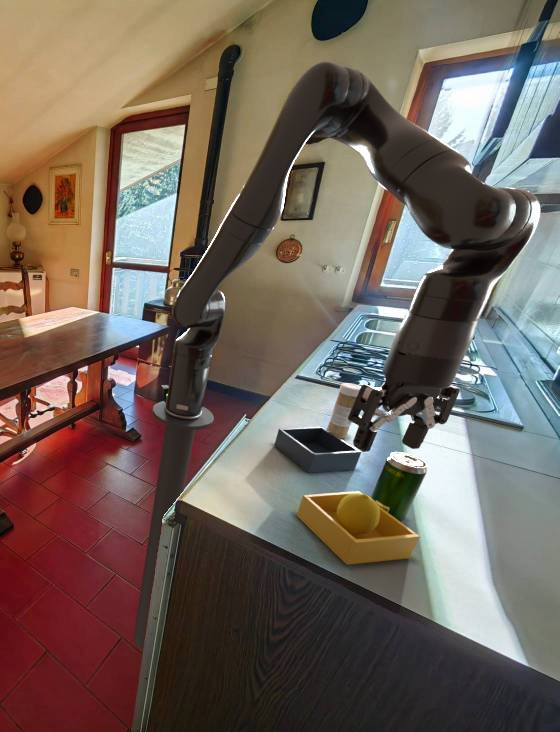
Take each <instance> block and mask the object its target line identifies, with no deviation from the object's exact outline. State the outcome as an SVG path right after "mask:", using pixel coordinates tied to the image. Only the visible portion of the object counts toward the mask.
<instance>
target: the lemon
mask: <svg viewBox="0 0 560 732" xmlns="http://www.w3.org/2000/svg"><path fill="white" fill-rule="evenodd" d="M361 493H362V492H361ZM361 493H353V494H349V495H347V496H345V497H344V498H343V499H342V500H341V502H340V503H339V505H338V507H337V519H338V522H339V523H340V525H341V526H342V527H343V528H344V529H345V530H347V531H348V532H349V533H354V534H367V533H369V532H371V531H373V530H374V529H375V527H376V526H377V525H378V522H379V518H380V509H379V507H378V505H377V503H376V502H375V501H374V500H373V499H372V498H371V496H369V495H368V494H366V493H362V494H361Z"/></svg>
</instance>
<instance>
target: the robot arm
mask: <svg viewBox="0 0 560 732" xmlns="http://www.w3.org/2000/svg"><path fill="white" fill-rule="evenodd" d="M311 136H312V137H318V138H328V139H332V140H335V141H337V142H339V143H341V144H343V145H346V146H348V147H349V148H352V150H354V151H355V152H356V153H358V154H359V155H360V156H361V158H362V159H363V161H364V163H365V165H366V168H367V170H368V172H369V173H370V174H371V176H372V177H373V179H375V181H376V182H377V183H378V184H379V185H380V186H381V187H382V188H383V189H384V190H386V191H387V192H388V193H389V194H391V195H392V196H393V197H394V199H396V200H397V201H399V202H400V203H401V204H403V205H404V206H406V208H407V210H408V212H409V214H410V216H411V217H412V219H413V221H414V222H415V223H416V225H417V227H418V228H419V230H420V231H421V232H422V234H424V235H425V237H427V239H429V240H430V241H431V242H433V243H435V244H437V245H438V246H440V247H442V248H444V249H447V250H450V252H449V253H448V254H447V255H448V256H447V257H446V259H445V260H444V262H443V263H442V264H441V265H440V266H438V267H437V268H435V269H431V270H429V271H428V272H425V274H423V276H422V277H421V278H420V280H419V281H418V283H417V286H416V289H415V291H414V293H413V296H412V299H411V301H410V303H409V306H408V309H407V312H406V313H405V316H404V318H403V319H402V321H401V323H400V324H399V326H398V327H397V330H396V332H395V336H394V338H393V341H392V344H391V346H390V349H389V352H388V354H387V357H386V360H385V362H384V364H383V367H382V373H383V375H384V378H385V380H384V382H383V383H382V385H380V387H374V386H371V385H368V384H363V385H361V388H360V390H359V393H358V395H357V397H356V400H355V402H354V404H353V407H352V409H351V411H350V414H349V416H348V420H349V421H351V422H352V423H353V424H355V425H357V426H358V427H357V430H356V432H355V435H354V438H353V440H352V444H353V447H354V448H356V449H358V450H359V451H361V453H362V452H363V453H368V452H370V451H371V448H372V447H373V443H374V442H375V439H376V436H377V434H378V431H377V430H379V429H380V428H381V427H382V426H383V425H385V423H390V422H393V421H394V420H395V419H397V418H398V417H404V416H410V418H411V421H410V422H409V424H408V427H407V428H406V431H405V433H404V434H403V436H402V440H401V444H403V445H405V446H407V448H410V449H412V450H418V449H420V448H421V445H422V444H423V443H424V440H425V438H426V436H427V434H428V432H429V430H431V429H433V428H434V427H435V426H436V425H437V424H439V425H445V424H446V423H447V422H448V420H449V418H450V416H451V413H452V410H453V408H454V406H455V404H456V401H457V399H458V396H459V394H460V391H461V389H460V388H459V387H456V386H453V385H452V384H453V382H454V380H455V378H456V377H457V374H458V372H459V370H460V367H461V365H462V363H463V362H464V359H465V357H466V354H467V353H468V350H469V348H470V346H471V344H472V341H473V339H474V336H475V333H476V329H477V325H478V323H479V321H480V319H481V317H482V314H483V312H484V310H485V308H486V306H487V304H488V300H490V297H491V294H492V291H493V289H494V287H495V286H496V284H497V283H498V282H499V281H500V280H501V278H502V277H503V276H504V275H505V274H506V273H507V272H508V270H509V269H510V267H511V266H512V265H513V263H514V262H515V261H516V260H517V258H518V257H519V256H520V254H521V253H522V251H523V250H524V248H525V247H526V246H527V245H528V243H529V242H530V240H531V238H532V237H533V235H534V234H535V231H536V229H537V227H538V225H539V221H540V219H541V204H540V201H539V199H538V197H537V196H536V194H534V193H532V192H531V191H528V190H526V189H522V188H515V187H514V188H513V187H499V186H498V187H496V186H491V185H489V184H487V183H485V182H484V181H481V180H480V179H478V178H477V177H475V176H474V175H473V174H472V165H471V163H470V161H469V160H468V158H466V157H465V156H464V155H462V153H460V152H459V151H457V150H456V149H454V148H453V147H451V146H450V145H449V144H447V143H446V142H444V141H443V140H441V139H439V138H438V137H436V136H435V135H433V134H432V133H430V132H429V131H427V130H426V129H424V128H422V127H421V126H419V125H417V124H415V123H414V122H413V121H410V120H409V119H408V118H406V117H405V116H404V115H403V114H401V113H400V112H399V111H398V110H397V109H396V108H395V107H393V105H392V104H390V102H389V101H388V100H387V99H386V98H385V97H384V95H383V94H382V93H381V91H380V90H379V89H378V87H377V86H376V85H375V84H374V83H373V82H372V81H371V79H370V78H369V77H368V76H367V75H366V74H365V73H364V72H363V71H361V70H358V69H355V68H353V67H349V66H346V65H343V64H339V63H336V62H333V61H327V60H326V61H325V60H324V61H319V62H318V63H315V64H313V65H312V66H310V67H309V68H308V69H307V70H305V72H303V74H302V75H300V77H299V78H298V79H297V81H296V82H295V84H294V85H293V87H292V88H291V90H290V92H289V93H288V95H287V96H286V99H285V101H284V103H283V105H282V106H281V109H280V110H279V113H278V115H277V117H276V120H275V121H274V124H273V126H272V128H271V130H270V133H269V135H268V137H267V139H266V141H265V143H264V145H263V147H262V150H261V151H260V154H259V156H258V158H257V160H256V163H254V166H253V168H252V169H251V172H250V173H249V175H248V177H247V179H246V180H245V182H244V184H243V186H242V188H241V190H240V191H239V194H238V195H237V196H236V198H235V200H234V202H233V203H232V204H231V207H230V208H229V210H228V212H227V213H226V215H225V217H224V219H223V220H222V223H221V224H220V226H219V228H218V230H217V232H216V234H215V236H214V237H213V239H212V241H211V243H210V245H209V246H208V248H207V250H205V253H204V254H203V256H202V258H201V259H200V260H199V263H198V264H197V266H196V267H195V269H194V271H193V272H192V274H191V275H190V276H189V277H188V279H187V280H186V282H185V283H184V285H183V286H182V287H181V289H179V292H178V293H177V295H176V297H175V299H174V301H173V303H172V304H173V305H172V311H171V313H172V318H173V321H174V322H175V324H176V325H177V326H179V327H181V328H185V329H186V328H187V331H185V332H184V333H183V334H182V335H181V336H179V337H178V338H177V339H176V340H175V342H174V345H173V351H172V352H173V353H172V359H171V360H172V361H171V365H170V366H171V367H170V374H169V378H168V383H167V384H161V385H160V391H159V393H160V394H161V395H162V398H163V401H164V402H165V403H166V404H165V412H166V413H167V414H168V415H169V416H171V417H173V418H176V419H180V420H196V419H199V418H200V417H201V413H202V407H203V404H204V400H205V395H206V390H207V384H208V378H209V373H210V369H211V364H212V363H211V362H212V356H213V352H214V349H215V347H216V346H217V345H218V342H219V339H220V337H221V332H222V327H223V323H224V319H225V315H226V299H225V296H224V293H223V292H222V291H221V290H219V287H220V286H221V284H222V283H224V281H226V280H227V278H229V276H231V275H232V274H233V273H234V272H236V270H238V269H239V268H240V267H241V266H243V265H245V263H247V261H249V260H250V259H251V258H252V257H253V256H254V255H256V253H257V252H258V251H259V250H260V249H261V247H262V246H263V245H264V243H265V242H266V241H267V239H268V237H269V236H270V234H271V233H272V231H273V230H274V228H276V226H277V224H278V222H279V220H280V218H281V215H282V213H283V210H284V204H285V197H286V189H287V182H288V177H289V174H290V171H291V169H292V167H293V165H294V163H295V160H296V159H297V157H298V156H299V154H300V152H301V150H302V149H303V147H304V145H305V144H306V142H307V141H308V140H309V138H310V137H311ZM381 407H382V409H383V410H384V411H383V410H381V409H379V408H381ZM438 408H439V409H440V412H439V413H437V412H436V411H437V409H438ZM361 412H363V414H362V415H360V414H361ZM375 416H376V417H377V418H376V419H374V421H372V419H373V417H375Z"/></svg>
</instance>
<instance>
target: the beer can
mask: <svg viewBox="0 0 560 732" xmlns="http://www.w3.org/2000/svg"><path fill="white" fill-rule="evenodd" d="M428 466H429V465H428V463H427V462H426V461H425V460H423V459H422V458H420V457H418V456H415V455H413V454H409V453H406V452H401V451H394V452H391V453H390V455H389V456H387V457H386V460H385V462H384V464H383V467H382V470H381V472H380V474H379V476H378V479H377V482H376V484H375V486H374V488H373V491H372V494H371V496H370V497H371V498H372V499H373V500H374V501H375V502H376V503H377V505H378V506H380V507H381V508H382V509H384V510H385V511H386V512H388V513H389V514H390V515H392V516H393V517H394V518H396V519H397V520H398V521H400V522H401V523H403V521H405V520H406V517H407V515H408V513H409V511H410V509H411V507H412V505H413V502H414V500H415V498H416V497H417V494H418V492H419V490H420V487H421V485H422V484H423V481H424V479H425V477H426V475H427V473H428V469H427V468H428Z"/></svg>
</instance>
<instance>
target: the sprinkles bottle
mask: <svg viewBox="0 0 560 732" xmlns="http://www.w3.org/2000/svg"><path fill="white" fill-rule="evenodd" d="M361 387H362V385H358V384H355V383H351V382H343V383H341V384H340V386H339V389H338V394H337V398H336V401H335V403H334V406H333V408H332V411H331V414H330V417H329V422H328V424H327V427H326V428H325V429H326V430H328V431H329V432H331V433H332V434H334V435H335V436H337V437H339V438H340V439H345V438H347V437H348V432H349V430H350V427H351V425H352V423H353V422H351V421H349V420H348V416H349V414H350V411H351V409H352V407H353V404H354V402H355V400H356V397H357V395H358V393H359V390H360V388H361Z"/></svg>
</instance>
